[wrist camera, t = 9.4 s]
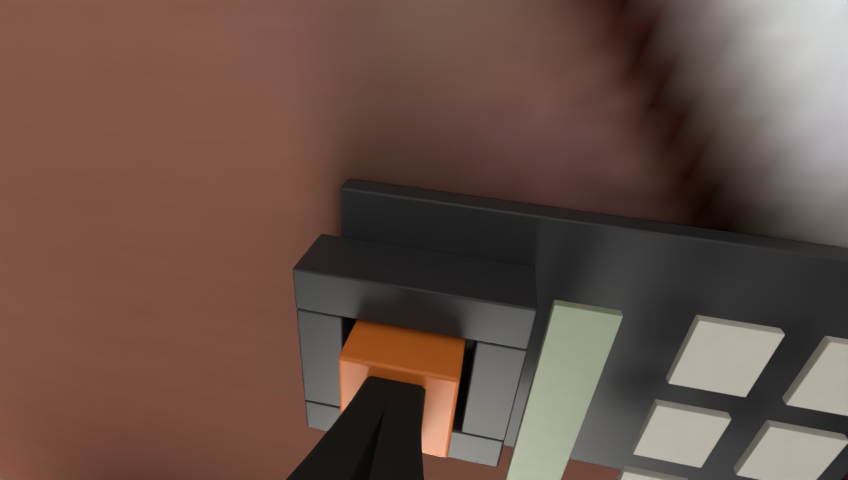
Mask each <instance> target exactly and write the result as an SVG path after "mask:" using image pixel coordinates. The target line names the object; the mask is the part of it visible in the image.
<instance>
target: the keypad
mask: <svg viewBox="0 0 848 480" xmlns="http://www.w3.org/2000/svg"><path fill="white" fill-rule="evenodd" d="M622 318H623V314H622V311H620V310H615V309H608V308H602V307H596V306H590V305H584V304H578V303H572V302H566V301H560V300H554V301H553V304H552V308H551V312H550V315H549V319H548V323H547V326H546V330H545V334H544V337H543V341H542V345H541V348H540V352H539V356H538V359H537V363H536V367H535V370H534V374H533V378H532V381H531V385H530V389H529V392H528V396H527V399H526V403H525V407H524V410H523V414H522V418H521V421H520V425H519V429H518V432H517V436H516V440H515V443H514V447H513V451H512V454H511V458H510V462H509V465H508V469H507V473H506V476H505V480H561V478H562V475H563V473H564V470H565V468H566V465H567V462H568V460H569V457H570V454H571V452H572V449H573V447H574V444H575V441H576V439H577V436H578V433H579V431H580V428H581V425H582V423H583V420H584V418H585V415H586V412H587V410H588V407H589V404H590V402H591V399H592V397H593V394H594V391H595V389H596V386H597V383H598V381H599V378H600V376H601V373H602V370H603V368H604V365H605V362H606V360H607V357H608V354H609V352H610V349H611V347H612V344H613V341H614V339H615V336H616V333H617V331H618V328H619V326H620V323H621V320H622ZM784 336H785V334H784V332H783V331H782V330H781V329H780V328H775V327H769V326H763V325H757V324H750V323H744V322H738V321H732V320H726V319H720V318H713V317H707V316H701V315H696V316H695V318H694V320H693V322H692V324H691V326H690V328H689V330H688V333H687V335H686V337H685V339H684V341H683V343H682V345H681V347H680V349H679V351H678V353H677V355H676V357H675V359H674V361H673V363H672V365H671V368H670V370H669V372H668V374H667V376H666V379H667V381H668V383H669V384H675V385H680V386H686V387H691V388H697V389H702V390H708V391H713V392H719V393H724V394H730V395H735V396H741V397H746V396H747V394H748V393H749V391H750V389H751V388H752V386H753V385H754V383H755V381H756V380H757V378H758V377H759V375H760V374H761V372H762V370H763V369H764V367H765V366H766V364H767V362H768V361H769V359H770V358H771V356H772V355H773V353H774V351H775V350H776V348H777V347H778V345H779V344H780V342H781V340H782V339H783V337H784ZM782 399H783V400H784V402H785V404H786V405H790V406H796V407H801V408H807V409H812V410H818V411H824V412H829V413H835V414H840V415H846V416H848V339H843V338H837V337H831V336H824V338H823V339H822V341H821V342H820V343H819V345H818V346H817V348H816V349H815V351H814V352H813V354H812V355H811V356H810V358H809V359H808V361H807V362H806V364H805V365H804V367H803V368H802V369H801V371H800V372H799V374H798V375H797V377H796V378H795V380H794V381H793V382H792V384H791V385H790V387H789V388H788V390H787V391H786V393H785V394H784V395H783V397H782ZM730 421H731V417H730V415H729V413H727V412H722V411H717V410H712V409H706V408H701V407H696V406H690V405H685V404H679V403H674V402H669V401H663V400H658V399H655V401H654V403H653V405H652V407H651V409H650V411H649V413H648V415H647V417H646V419H645V421H644V423H643V425H642V427H641V429H640V431H639V433H638V436H637V438H636V440H635V442H634V444H633V446H632V451H633V454H635V455H640V456H645V457H650V458H655V459H659V460H664V461H669V462H674V463H679V464H684V465H689V466H694V467H699V468H701V467H702V465H703V464H704V462H705V461H706V459H707V457H708V456H709V454H710V453H711V451H712V449H713V448H714V446H715V445H716V443H717V442H718V440H719V438H720V437H721V435H722V434H723V432H724V431H725V429H726V427H727V426H728V424H729V423H730ZM847 444H848V439H847V437H846V436H845V435H844V434H841V433H835V432H830V431H825V430H819V429H814V428H808V427H803V426H798V425H792V424H787V423H782V422H776V421H771V420H766V421H765V423H764V424H763V426H762V427H761V429H760V430H759V432H758V433H757V434H756V436H755V437H754V439H753V440H752V442H751V443H750V445H749V446H748V447H747V449H746V450H745V452H744V453H743V455H742V456H741V458H740V459H739V460H738V462H737V463H736V465H735V466H734V471H735V473H736V475H739V476H744V477H749V478H754V479H759V480H817V478H818V477H819V476H820V475H821V474H822V473H823V471H824V470H825V469H826V468H827V467H828V466H829V465H830V463H831V462H832V461H833V460H834V459H835V458H836V456H837V455H838V454H839V453H840V452H841V451H842V449H843V448H844V447H845V446H846V445H847ZM616 480H688V479H687V478H684V477H679V476H675V475H670V474H665V473H660V472H655V471H650V470H645V469H640V468H636V467H631V466H626V465H623V466H622V469H621V471H620V473H619V475H618V477H617V479H616Z"/></svg>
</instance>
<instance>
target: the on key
mask: <svg viewBox="0 0 848 480" xmlns="http://www.w3.org/2000/svg"><path fill="white" fill-rule="evenodd" d="M465 342H466V338H461V337H455V336H450V335H444V334H438V333H433V332H427V331H422V330H416V329H410V328H405V327H399V326H394V325H388V324H383V323H377V322H371V321H366V320H360V319H357V321H356V323H355V325H354V327H353V329H352V331H351V333H350V335H349V337H348V339H347V341H346V343H345V345H344V347H343V349H342V351H341V353H340V355H339V385H340V414H342V412H343V411H344V410H345V408H346V407H347V405H348V404H349V403H350V401H351V400H352V399H353V397H354V396H355V394H356V393H357V391H358V390H359V388H360V387H361V385H362V384H363V382H364V380H365V379H366V378H367V377H369V376H375V377H380V378H385V379H390V380H396V381H401V382H406V383H411V384H416V385H421V386H423V388H424V389H425V390H426V394H425V403H424V413H423V422H422V453H426V454H430V455H435V456H440V457H446V456H447V455H448V452H449V446H450V440H451V433H452V427H453V421H454V415H455V408H456V402H457V396H458V389H459V383H460V376H461V370H462V363H463V356H464V349H465Z"/></svg>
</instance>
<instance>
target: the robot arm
mask: <svg viewBox="0 0 848 480" xmlns="http://www.w3.org/2000/svg"><path fill="white" fill-rule="evenodd" d="M425 394H426V390H425V389H424V388H423V386H421V385H416V384H411V383H406V382H401V381H396V380H390V379H385V378H380V377H375V376H369V377H367V378H366V379H365V380H364V382H363V384H362V385H361V387H360V388H359V390H358V391H357V393H356V394H355V396H354V397H353V399H352V400H351V401H350V403H349V404H348V405H347V407H346V408H345V410H344V411H343V412H342V414H341V415H340V416H339V417H338V419H337V420H336V421H335V423H334V424H333V425H332V427H331V428H330V429H329V430H328V431H327V433H326V434H325V435H324V436H323V438H322V439H321V440H320V441H319V442H318V444H317V445H316V446H315V447H314V449H313V450H312V451H311V452H310V453H309V454H308V456H307V457H306V458H305V459H304V460H303V461H302V462H301V464H300V465H299V466H298V467H297V468H296V469H295V470H294V471H293V472H292V473H291V475H290V476H289V477H288V478H287V479H286V480H424V475H423V461H422V422H423V413H424V403H425Z"/></svg>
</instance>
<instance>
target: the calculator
mask: <svg viewBox="0 0 848 480" xmlns="http://www.w3.org/2000/svg"><path fill="white" fill-rule="evenodd" d="M341 229H342V237H339V236H332V235H326V234H321V235H320V236H319V237H318V239H317V240H316V241H315V242H314V243H313V245H312V246H311V247H310V248H309V250H308V251H307V252H306V253H305V254H304V256H303V257H302V258H301V259H300V261H299V262H298V263H297V264H296V265H295V267H294V268H293V277H294V288H295V299H296V307H297V320H298V330H299V341H300V352H301V363H302V374H303V385H304V396H305V405H306V416H307V426H308V427H311V428H315V429H320V430H325V431H328V430H329V429H330V428H331V427H332V425H333V424H334V423H335V421H336V420H337V419H338V417H339V416H340V415H341V414H340V385H339V355H340V353H341V351H342V349H343V347H344V345H345V343H346V341H347V339H348V337H349V335H350V333H351V331H352V329H353V327H354V325H355V323H356V321H357V319H360V320H366V321H371V322H377V323H383V324H388V325H394V326H399V327H405V328H410V329H416V330H422V331H427V332H433V333H438V334H444V335H450V336H455V337H461V338H466V342H465V349H464V356H463V363H462V370H461V376H460V383H459V389H458V396H457V402H456V408H455V415H454V421H453V427H452V433H451V440H450V446H449V452H448V455H447V457H452V458H456V459H461V460H466V461H470V462H475V463H480V464H484V465H489V466H494V467H497V466H498V464H499V461H500V457H501V453H502V449H503V445H505V446H510V447H514V443H515V440H516V436H517V432H518V429H519V425H520V421H521V418H522V414H523V410H524V407H525V403H526V399H527V396H528V392H529V389H530V385H531V381H532V378H533V374H534V370H535V367H536V363H537V359H538V356H539V352H540V348H541V345H542V341H543V337H544V334H545V330H546V326H547V323H548V319H549V315H550V312H551V308H552V304H553V301H554V300H560V301H566V302H572V303H578V304H584V305H590V306H596V307H602V308H608V309H615V310H620V311H622V314H623V318H622V320H621V323H620V326H619V328H618V331H617V333H616V336H615V339H614V341H613V344H612V347H611V349H610V352H609V354H608V357H607V360H606V362H605V365H604V368H603V370H602V373H601V376H600V378H599V381H598V383H597V386H596V389H595V391H594V394H593V397H592V399H591V402H590V404H589V407H588V410H587V412H586V415H585V418H584V420H583V423H582V425H581V428H580V431H579V433H578V436H577V439H576V441H575V444H574V447H573V449H572V452H571V454H570V457H569V459H573V460H578V461H583V462H588V463H592V464H597V465H602V466H607V467H612V468H617V469H622V466H623V465H626V466H631V467H636V468H640V469H645V470H650V471H655V472H660V473H665V474H670V475H675V476H679V477H684V478H687V479H688V480H759V479H754V478H749V477H744V476H739V475H736V473H735V471H734V466H735V465H736V463H737V462H738V460H739V459H740V458H741V456H742V455H743V453H744V452H745V450H746V449H747V447H748V446H749V445H750V443H751V442H752V440H753V439H754V437H755V436H756V434H757V433H758V432H759V430H760V429H761V427H762V426H763V424H764V423H765V421H766V420H771V421H776V422H782V423H787V424H792V425H798V426H803V427H808V428H814V429H819V430H825V431H830V432H835V433H841V434H844V435H845V436H846V437H847V439H848V416H846V415H840V414H835V413H829V412H824V411H818V410H812V409H807V408H801V407H796V406H790V405H786V404H785V402H784V400H783V399H782V397H783V395H784V394H785V393H786V391H787V390H788V388H789V387H790V385H791V384H792V382H793V381H794V380H795V378H796V377H797V375H798V374H799V372H800V371H801V369H802V368H803V367H804V365H805V364H806V362H807V361H808V359H809V358H810V356H811V355H812V354H813V352H814V351H815V349H816V348H817V346H818V345H819V343H820V342H821V341H822V339H823V338H824V336H831V337H837V338H843V339H848V248H842V247H835V246H828V245H820V244H813V243H806V242H799V241H792V240H784V239H777V238H770V237H763V236H756V235H749V234H741V233H734V232H727V231H720V230H713V229H705V228H698V227H691V226H684V225H677V224H670V223H662V222H655V221H648V220H641V219H634V218H626V217H619V216H612V215H605V214H598V213H591V212H583V211H576V210H569V209H562V208H555V207H547V206H540V205H533V204H526V203H519V202H512V201H504V200H497V199H490V198H483V197H476V196H468V195H461V194H454V193H447V192H440V191H433V190H425V189H418V188H411V187H404V186H397V185H389V184H382V183H375V182H368V181H361V180H354V179H349V180H348V181H347V182H346V183H345V184H344V185H343V186H342V187H341ZM696 315H701V316H707V317H713V318H720V319H726V320H732V321H738V322H744V323H750V324H757V325H763V326H769V327H775V328H780V329H781V330H782V331H783V332H784V334H785V336H784V337H783V339H782V340H781V342H780V344H779V345H778V347H777V348H776V350H775V351H774V353H773V355H772V356H771V358H770V359H769V361H768V362H767V364H766V366H765V367H764V369H763V370H762V372H761V374H760V375H759V377H758V378H757V380H756V381H755V383H754V385H753V386H752V388H751V389H750V391H749V393H748V394H747V396H746V397H741V396H735V395H730V394H724V393H719V392H713V391H708V390H702V389H697V388H691V387H686V386H680V385H675V384H669V383H668V381H667V379H666V376H667V374H668V372H669V370H670V368H671V365H672V363H673V361H674V359H675V357H676V355H677V353H678V351H679V349H680V347H681V345H682V343H683V341H684V339H685V337H686V335H687V333H688V330H689V328H690V326H691V324H692V322H693V320H694V318H695V316H696ZM655 399H658V400H663V401H669V402H674V403H679V404H685V405H690V406H696V407H701V408H706V409H712V410H717V411H722V412H727V413H729V415H730V417H731V421H730V423H729V424H728V426H727V427H726V429H725V431H724V432H723V434H722V435H721V437H720V438H719V440H718V442H717V443H716V445H715V446H714V448H713V449H712V451H711V453H710V454H709V456H708V457H707V459H706V461H705V462H704V464H703V465H702V467H701V468H699V467H694V466H689V465H684V464H679V463H674V462H669V461H664V460H659V459H655V458H650V457H645V456H640V455H635V454H633V451H632V446H633V444H634V442H635V440H636V438H637V436H638V433H639V431H640V429H641V427H642V425H643V423H644V421H645V419H646V417H647V415H648V413H649V411H650V409H651V407H652V405H653V403H654V401H655ZM847 473H848V444H847V445H846V446H845V447H844V448H843V449H842V451H841V452H840V453H839V454H838V455H837V456H836V458H835V459H834V460H833V461H832V462H831V463H830V465H829V466H828V467H827V468H826V469H825V470H824V471H823V473H822V474H821V475H820V476H819V477H818V478H817V480H841V479H842V478H843V477H844V476H845V475H846V474H847Z"/></svg>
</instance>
